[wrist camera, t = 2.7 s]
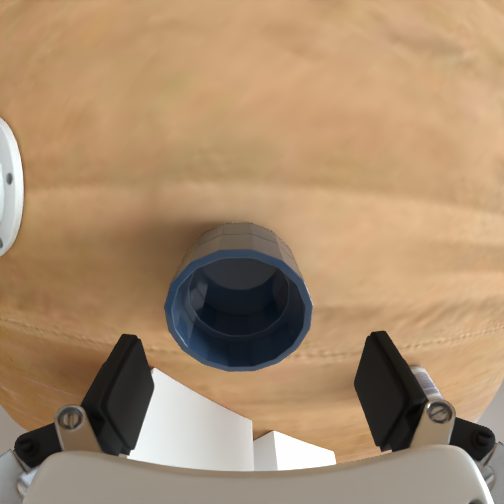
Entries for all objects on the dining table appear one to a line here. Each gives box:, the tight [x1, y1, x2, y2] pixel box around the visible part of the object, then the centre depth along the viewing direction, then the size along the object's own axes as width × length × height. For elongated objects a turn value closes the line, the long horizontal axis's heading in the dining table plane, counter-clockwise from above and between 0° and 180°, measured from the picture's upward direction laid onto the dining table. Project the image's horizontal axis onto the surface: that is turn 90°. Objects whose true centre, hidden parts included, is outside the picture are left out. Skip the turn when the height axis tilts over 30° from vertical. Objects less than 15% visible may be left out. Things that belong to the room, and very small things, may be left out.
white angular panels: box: [119, 367, 336, 471], centre depth 20 cm, size 25×11×11 cm, turn 47°
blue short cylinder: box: [164, 223, 313, 372], centre depth 16 cm, size 7×7×5 cm
